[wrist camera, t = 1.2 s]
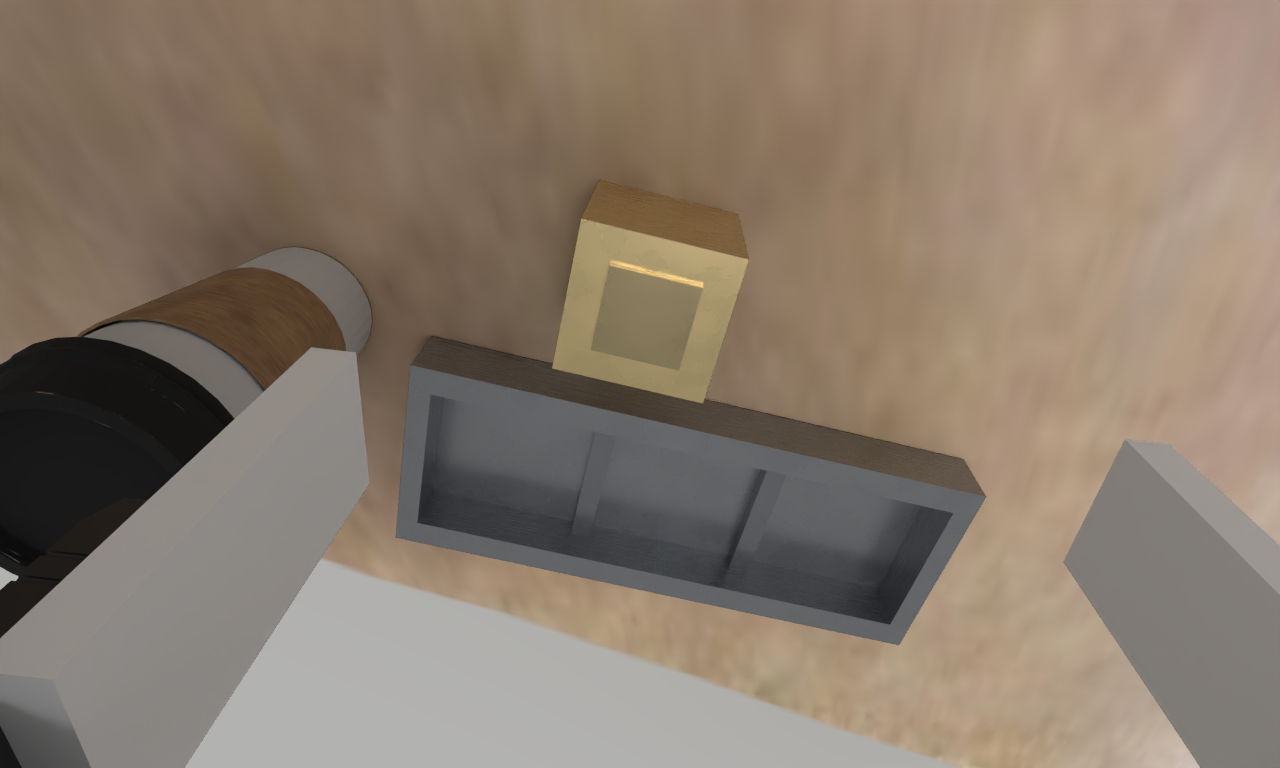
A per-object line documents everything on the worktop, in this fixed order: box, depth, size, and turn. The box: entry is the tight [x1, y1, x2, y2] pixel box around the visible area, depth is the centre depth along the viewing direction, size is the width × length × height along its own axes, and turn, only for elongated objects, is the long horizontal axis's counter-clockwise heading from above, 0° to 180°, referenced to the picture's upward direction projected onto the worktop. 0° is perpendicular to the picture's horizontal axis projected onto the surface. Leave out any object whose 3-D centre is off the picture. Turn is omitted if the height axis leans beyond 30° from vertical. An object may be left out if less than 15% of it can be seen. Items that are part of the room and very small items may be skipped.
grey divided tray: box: [396, 336, 986, 645], centre depth 36 cm, size 26×10×3 cm, turn 77°
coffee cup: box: [0, 247, 372, 576], centre depth 27 cm, size 8×8×15 cm
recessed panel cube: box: [552, 180, 749, 403], centre depth 29 cm, size 6×6×6 cm
